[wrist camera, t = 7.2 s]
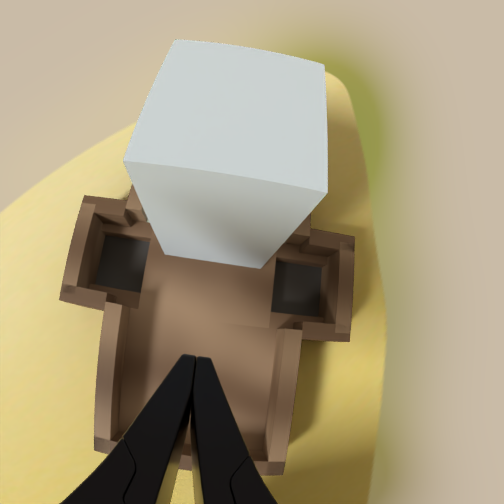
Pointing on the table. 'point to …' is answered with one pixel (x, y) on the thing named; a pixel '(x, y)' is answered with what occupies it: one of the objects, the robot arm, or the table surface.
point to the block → (230, 151)
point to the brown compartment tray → (204, 320)
